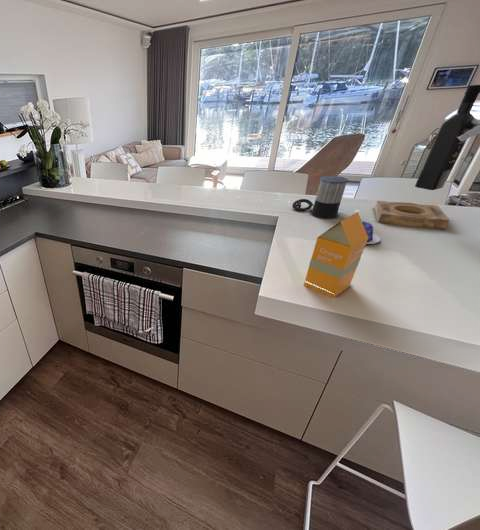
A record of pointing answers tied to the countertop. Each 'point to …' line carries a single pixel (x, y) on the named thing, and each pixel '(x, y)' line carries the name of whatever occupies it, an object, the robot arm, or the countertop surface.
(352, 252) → the orange juice
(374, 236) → the pudding
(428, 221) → the bottle stand
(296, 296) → the countertop surface
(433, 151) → the wine bottle
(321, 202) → the milk frother
